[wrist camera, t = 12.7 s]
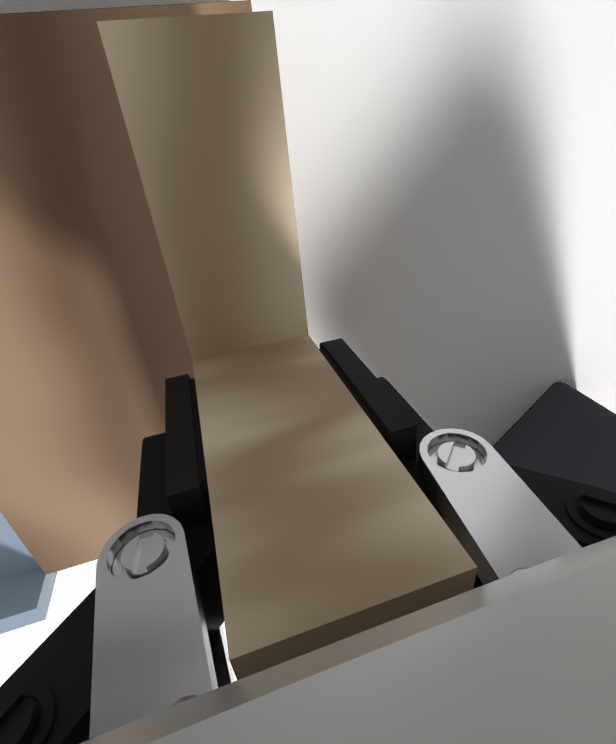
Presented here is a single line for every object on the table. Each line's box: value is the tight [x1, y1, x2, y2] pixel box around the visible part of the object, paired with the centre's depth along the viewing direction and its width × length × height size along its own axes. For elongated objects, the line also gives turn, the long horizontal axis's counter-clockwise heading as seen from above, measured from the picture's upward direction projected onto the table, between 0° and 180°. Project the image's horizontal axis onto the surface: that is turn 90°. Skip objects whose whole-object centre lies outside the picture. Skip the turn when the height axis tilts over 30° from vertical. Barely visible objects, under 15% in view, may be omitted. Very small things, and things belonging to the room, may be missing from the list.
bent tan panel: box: [97, 11, 477, 680], centre depth 9 cm, size 3×16×10 cm, turn 5°
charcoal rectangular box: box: [493, 382, 616, 493], centre depth 20 cm, size 11×4×15 cm, turn 141°
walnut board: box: [0, 0, 252, 574], centre depth 15 cm, size 12×18×2 cm, turn 5°
